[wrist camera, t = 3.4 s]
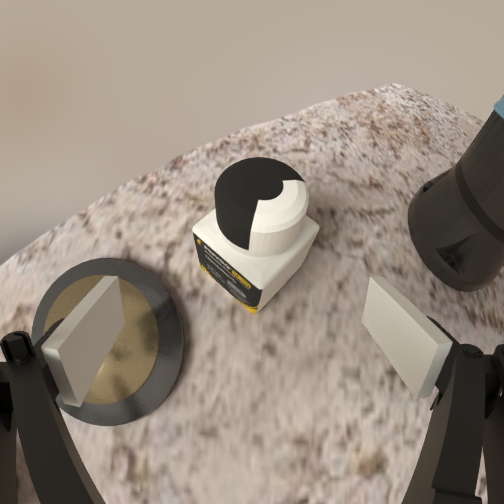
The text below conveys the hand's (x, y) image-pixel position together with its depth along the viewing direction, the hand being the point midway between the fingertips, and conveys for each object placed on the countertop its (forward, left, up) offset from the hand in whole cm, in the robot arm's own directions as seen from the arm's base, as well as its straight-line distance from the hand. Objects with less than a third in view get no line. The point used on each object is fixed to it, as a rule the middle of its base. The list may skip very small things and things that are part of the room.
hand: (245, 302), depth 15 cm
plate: (+13, +1, -12) cm, 18 cm away
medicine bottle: (-1, -7, -12) cm, 14 cm away
